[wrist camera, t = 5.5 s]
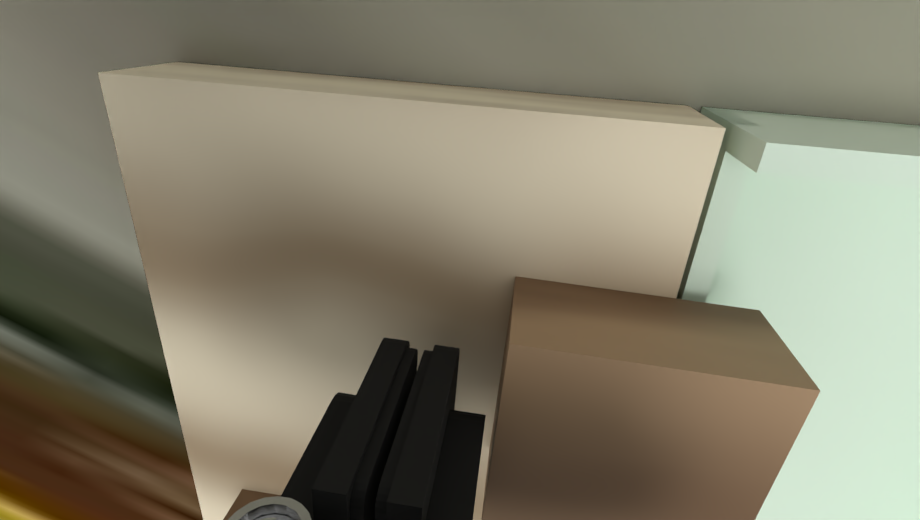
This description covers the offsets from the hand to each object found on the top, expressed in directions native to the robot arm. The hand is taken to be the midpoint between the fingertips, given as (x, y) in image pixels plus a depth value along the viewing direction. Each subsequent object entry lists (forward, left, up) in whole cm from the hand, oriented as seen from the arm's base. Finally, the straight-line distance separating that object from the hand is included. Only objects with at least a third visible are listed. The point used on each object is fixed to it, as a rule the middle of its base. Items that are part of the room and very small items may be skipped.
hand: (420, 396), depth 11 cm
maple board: (+4, -1, -4) cm, 5 cm away
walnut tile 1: (0, +4, -1) cm, 4 cm away
